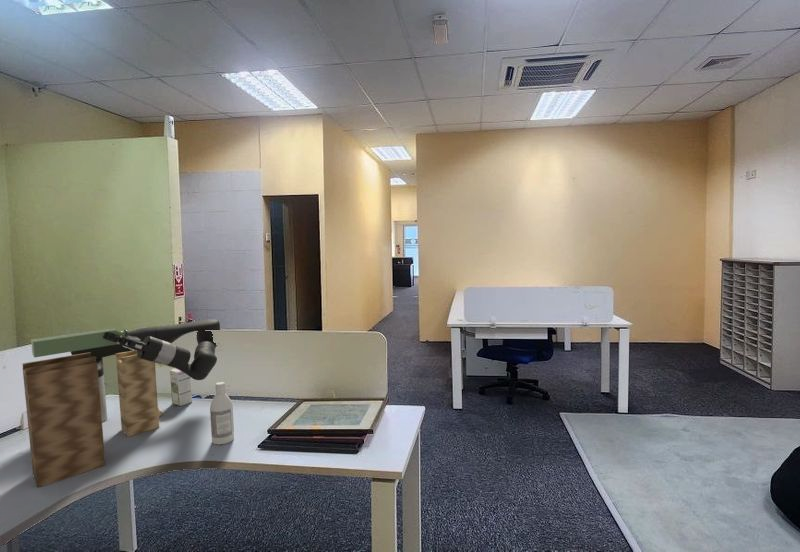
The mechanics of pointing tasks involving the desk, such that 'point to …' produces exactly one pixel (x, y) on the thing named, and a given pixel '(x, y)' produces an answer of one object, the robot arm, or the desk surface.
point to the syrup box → (180, 387)
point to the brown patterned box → (63, 417)
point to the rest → (137, 393)
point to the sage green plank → (73, 342)
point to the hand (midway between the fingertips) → (102, 333)
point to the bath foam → (221, 416)
